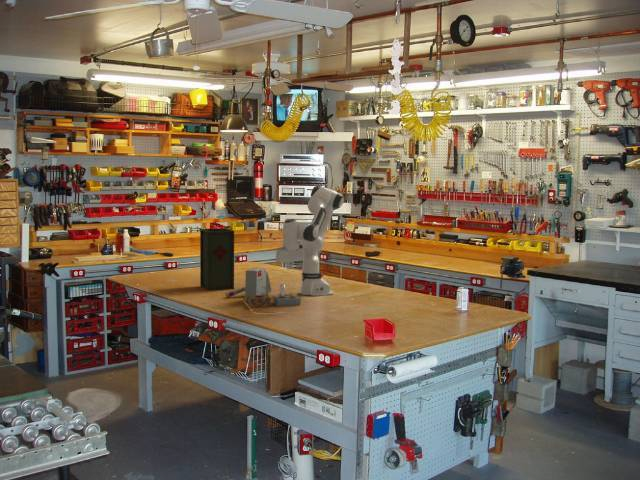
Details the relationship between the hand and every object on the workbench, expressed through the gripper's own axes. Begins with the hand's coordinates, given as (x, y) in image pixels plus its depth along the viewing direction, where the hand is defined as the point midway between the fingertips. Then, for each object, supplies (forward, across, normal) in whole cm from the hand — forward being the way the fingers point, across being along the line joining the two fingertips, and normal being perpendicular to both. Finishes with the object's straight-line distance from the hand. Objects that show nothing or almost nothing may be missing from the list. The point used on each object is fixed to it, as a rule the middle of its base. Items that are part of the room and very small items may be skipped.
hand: (289, 269), depth 391 cm
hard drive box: (+23, -6, +25) cm, 34 cm away
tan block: (+21, +3, 0) cm, 21 cm away
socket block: (+22, 0, +2) cm, 22 cm away
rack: (+22, -15, +10) cm, 29 cm away
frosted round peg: (+21, -3, +3) cm, 22 cm away
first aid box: (+22, +2, +76) cm, 79 cm away
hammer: (+23, 0, +40) cm, 46 cm away
